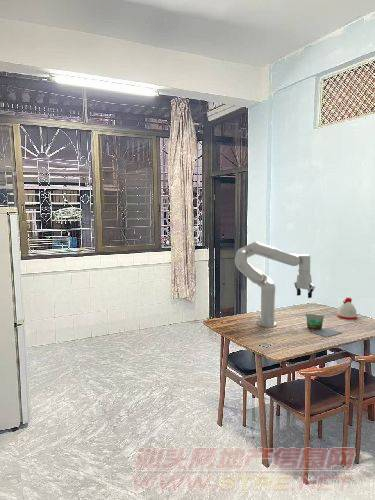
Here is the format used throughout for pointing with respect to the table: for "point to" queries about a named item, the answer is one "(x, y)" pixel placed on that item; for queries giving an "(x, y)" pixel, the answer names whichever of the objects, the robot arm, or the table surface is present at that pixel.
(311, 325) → the food container
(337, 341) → the table surface
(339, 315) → the white bobble hat
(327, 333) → the mat
